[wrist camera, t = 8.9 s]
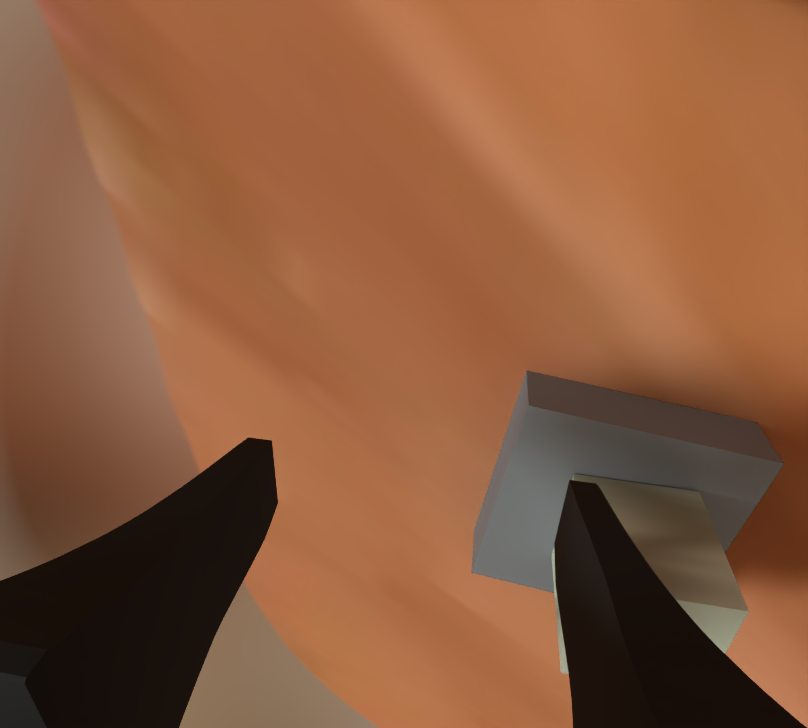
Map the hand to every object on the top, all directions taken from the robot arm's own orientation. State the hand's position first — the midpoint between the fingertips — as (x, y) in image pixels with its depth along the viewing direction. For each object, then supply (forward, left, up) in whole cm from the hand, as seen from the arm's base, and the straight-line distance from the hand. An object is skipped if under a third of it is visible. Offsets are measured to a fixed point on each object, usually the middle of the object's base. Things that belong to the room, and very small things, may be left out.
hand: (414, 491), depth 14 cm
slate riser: (-8, +6, -10) cm, 14 cm away
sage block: (-8, +5, -7) cm, 12 cm away
